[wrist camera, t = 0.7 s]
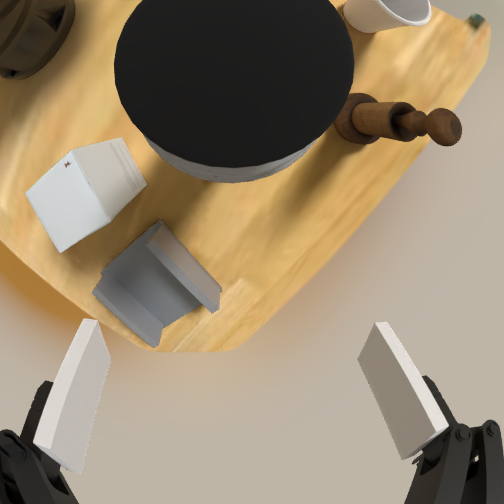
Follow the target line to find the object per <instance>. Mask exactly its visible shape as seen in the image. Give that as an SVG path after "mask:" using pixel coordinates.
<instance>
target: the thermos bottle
mask: <svg viewBox="0 0 504 504" xmlns="http://www.w3.org/2000/svg"><path fill="white" fill-rule="evenodd" d="M354 63H355V62H354V54H353V46H352V42H351V39H350V36H349V33H348V30H347V28H346V25H345V23H344V21H343V20H342V18H341V16H340V15H339V13H338V12H337V10H336V8H335V7H334V6H333V5H332V4H331V3H330V1H329V0H142V1H141V2H140V3H139V4H138V5H137V7H136V8H135V10H134V11H133V12H132V14H131V15H130V17H129V18H128V20H127V21H126V23H125V25H124V27H123V30H122V32H121V35H120V37H119V40H118V42H117V47H116V53H115V60H114V73H115V85H116V88H117V91H118V95H119V98H120V101H121V104H122V106H123V107H124V109H125V111H126V113H127V114H128V116H129V118H130V119H131V121H132V123H133V124H134V125H135V126H136V127H137V128H138V129H139V130H140V131H141V132H142V133H143V135H144V137H145V138H146V140H147V142H148V143H149V145H150V146H151V147H152V148H153V149H154V150H155V151H156V152H157V153H158V155H159V156H160V157H161V158H162V159H164V160H165V161H166V162H168V163H169V164H171V165H172V166H173V167H175V168H176V169H178V170H180V171H182V172H184V173H186V174H189V175H191V176H193V177H195V178H200V179H204V180H207V181H211V182H221V183H239V182H249V181H254V180H257V179H261V178H264V177H268V176H271V175H273V174H275V173H277V172H279V171H281V170H283V169H285V168H287V167H288V166H290V165H291V164H292V163H294V162H295V161H296V160H298V159H299V158H300V157H302V156H303V155H304V154H305V153H306V151H307V150H308V149H309V148H310V147H311V146H312V145H313V144H314V143H315V141H316V140H317V138H319V137H320V136H321V135H322V134H323V133H324V132H325V131H326V130H327V129H328V128H329V126H330V125H331V124H332V123H333V122H334V121H335V120H336V118H337V117H338V115H339V113H340V112H341V110H342V108H343V106H344V105H345V103H346V101H347V98H348V95H349V92H350V89H351V86H352V83H353V74H354Z"/></svg>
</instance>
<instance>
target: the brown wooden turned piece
mask: <svg viewBox="0 0 504 504" xmlns="http://www.w3.org/2000/svg"><path fill="white" fill-rule="evenodd" d="M334 125H335V127H336V129H337V131H338V133H339V134H340V135H341V136H342V137H343V138H344V139H346V140H348V141H350V142H353V143H357V144H364V145H365V144H371V143H374V142H375V141H377V140H378V139H379V138H380V137H384V138H389V139H394V140H398V141H403V142H409V141H412V140H414V139H415V138H416V137H417V136H424V135H426V134H427V133H428V135H429V136H430V137H431V138H432V140H433V141H435V142H436V143H437V144H439V145H442V146H452V145H454V144H456V143H457V142H458V141H459V140H460V138H461V135H462V126H461V123H460V121H459V119H458V117H457V116H456V115H455V114H454V113H453V112H452V111H450V110H448V109H444V108H437V109H435V110H433V111H432V112H430V113H429V114H428V116H427V115H426V114H425V113H424V112H422V111H416V109H415V108H414V107H413V106H412V105H410V104H408V103H406V102H382V103H379V102H378V101H377V100H376V99H374V98H373V97H371V96H370V95H367V94H364V93H351V94H349V95H348V98H347V101H346V103H345V105H344V106H343V108H342V110H341V112H340V113H339V115H338V117H337V118H336V120H335V121H334Z"/></svg>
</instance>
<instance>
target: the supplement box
mask: <svg viewBox="0 0 504 504" xmlns="http://www.w3.org/2000/svg"><path fill="white" fill-rule="evenodd" d="M146 186H147V183H146V181H145V180H144V178H143V176H142V174H141V172H140V170H139V168H138V166H137V165H136V163H135V161H134V159H133V157H132V155H131V153H130V151H129V149H128V148H127V146H126V144H125V142H124V140H123V138H122V137H121V138H117V139H112V140H108V141H103V142H99V143H95V144H91V145H87V146H84V147H80V148H76V149H72V150H71V151H70V152H68V153H67V154H66V155H65V156H64V157H63V158H62V159H60V160H59V161H58V162H57V163H56V164H55V165H54V166H53V167H52V168H51V169H50V170H48V171H47V172H46V173H45V174H44V175H43V176H42V177H41V178H40V179H39V180H38V181H37V182H36V183H35V184H34V185H33V186H32V187H31V188H30V189H29V190H28V191H27V192H26V196H27V198H28V200H29V202H30V204H31V206H32V207H33V209H34V211H35V213H36V215H37V217H38V218H39V220H40V222H41V224H42V225H43V227H44V229H45V230H46V232H47V234H48V235H49V237H50V239H51V240H52V242H53V243H54V245H55V247H56V248H57V250H58V251H59V253H60V254H61V253H62V252H63V251H65V250H66V249H68V248H69V247H71V246H73V245H74V244H76V243H77V242H79V241H80V240H82V239H84V238H85V237H87V236H89V235H90V234H92V233H94V232H95V231H97V230H99V229H100V228H102V227H104V226H105V225H107V224H109V223H110V222H111V221H112V220H113V219H114V218H115V216H116V215H117V214H118V213H119V212H120V211H121V210H122V209H123V208H124V207H125V206H126V205H127V204H128V203H129V202H130V201H131V200H132V199H134V198H135V197H136V196H137V195H138V194H139V193H140V192H141V191H142V190H143V189H144V188H145V187H146Z"/></svg>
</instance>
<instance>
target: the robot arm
mask: <svg viewBox="0 0 504 504" xmlns="http://www.w3.org/2000/svg"><path fill="white" fill-rule="evenodd" d="M74 14H75V2H74V0H0V77H2V78H5V79H23V78H26V77H29V76H31V75H32V74H34V73H36V72H37V71H38V70H40V69H41V68H42V67H43V66H44V65H45V64H46V63H47V62H48V61H49V60H50V59H51V58H52V57H53V56H54V55H55V53H56V52H57V51H58V49H59V48H60V46H61V45H62V43H63V42H64V40H65V38H66V36H67V34H68V32H69V30H70V28H71V25H72V22H73V19H74ZM358 362H359V364H360V366H361V368H362V370H363V372H364V374H365V376H366V379H367V381H368V383H369V385H370V387H371V389H372V392H373V394H374V396H375V398H376V400H377V403H378V405H379V407H380V409H381V412H382V414H383V416H384V419H385V421H386V423H387V425H388V428H389V430H390V433H391V435H392V437H393V440H394V442H395V444H396V447H397V449H398V452H399V454H400V457H401V459H402V460H404V459H406V458H409V457H411V456H414V455H415V454H417V453H418V452H419V451H420V450H422V451H423V453H422V454H421V455H420V456H418V457H417V458H416V459H415V460H414V461H413V462H412V464H415V463H416V462H418V461H419V462H418V463H417V469H416V473H415V476H414V479H413V481H412V485H411V487H410V490H409V492H408V495H407V498H406V500H405V503H404V504H504V456H503V446H502V439H501V432H500V428H499V425H498V424H497V423H496V422H495V421H494V420H487V421H486V422H485V423H484V424H483V425H482V426H479V427H473V428H469V427H468V426H467V425H465V424H458V423H457V421H456V420H455V418H454V417H453V415H452V413H451V411H450V409H449V407H448V406H447V404H446V402H445V400H444V399H443V398H442V395H441V393H440V392H438V391H439V390H438V388H437V387H436V385H435V383H434V382H433V381H432V380H431V379H430V378H429V377H427V376H421V375H420V373H419V371H418V370H417V368H416V367H415V365H414V363H413V362H412V360H411V358H410V357H409V355H408V354H407V352H406V350H405V349H404V347H403V346H402V344H401V343H400V341H399V339H398V338H397V336H396V335H395V333H394V332H393V330H392V329H391V327H390V326H389V324H388V323H387V322H378V323H374V326H373V328H372V330H371V332H370V335H369V337H368V339H367V341H366V343H365V345H364V347H363V349H362V351H361V353H360V355H359V357H358ZM110 363H111V357H110V354H109V352H108V349H107V346H106V343H105V341H104V338H103V335H102V332H101V329H100V326H99V322H98V320H92V319H83V322H82V323H81V325H80V327H79V329H78V331H77V333H76V335H75V337H74V339H73V341H72V343H71V345H70V348H69V350H68V352H67V354H66V356H65V358H64V361H63V363H62V365H61V367H60V370H59V372H58V374H57V377H56V379H55V381H54V383H53V382H49V381H45V382H44V383H43V384H42V385H41V386H40V387H39V388H38V390H37V392H36V395H35V397H34V401H33V402H32V405H31V409H30V410H29V413H28V416H27V418H26V421H25V424H24V427H23V430H22V433H21V435H20V437H19V436H17V435H16V434H15V433H14V432H13V431H11V430H8V429H6V430H2V431H0V504H79V503H78V501H77V500H76V498H75V496H74V495H73V493H72V491H71V489H70V488H69V486H68V484H67V482H66V480H65V478H64V477H63V475H62V473H61V472H60V466H62V467H64V468H65V469H66V470H69V471H72V472H75V473H78V474H81V475H83V470H84V464H85V459H86V454H87V449H88V444H89V439H90V435H91V431H92V427H93V423H94V418H95V414H96V411H97V407H98V404H99V400H100V396H101V393H102V389H103V386H104V382H105V379H106V376H107V373H108V369H109V366H110ZM476 456H478V458H479V460H478V461H475V457H476Z"/></svg>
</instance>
